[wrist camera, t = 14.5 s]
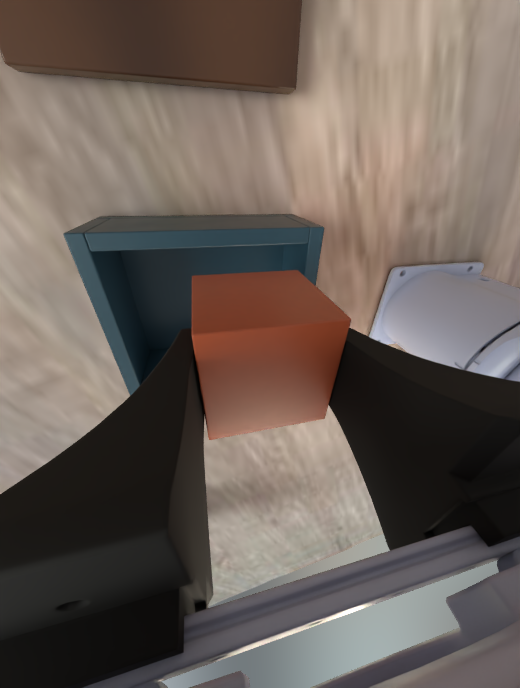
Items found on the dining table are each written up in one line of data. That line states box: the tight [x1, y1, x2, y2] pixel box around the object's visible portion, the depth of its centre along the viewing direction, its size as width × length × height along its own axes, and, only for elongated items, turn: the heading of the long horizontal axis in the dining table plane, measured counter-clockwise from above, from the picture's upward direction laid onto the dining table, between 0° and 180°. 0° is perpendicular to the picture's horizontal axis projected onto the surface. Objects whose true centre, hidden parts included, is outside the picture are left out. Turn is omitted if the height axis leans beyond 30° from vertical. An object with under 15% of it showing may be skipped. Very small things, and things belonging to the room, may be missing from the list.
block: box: [192, 270, 351, 440], centre depth 10 cm, size 5×5×5 cm
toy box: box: [64, 214, 324, 396], centre depth 16 cm, size 12×10×5 cm
